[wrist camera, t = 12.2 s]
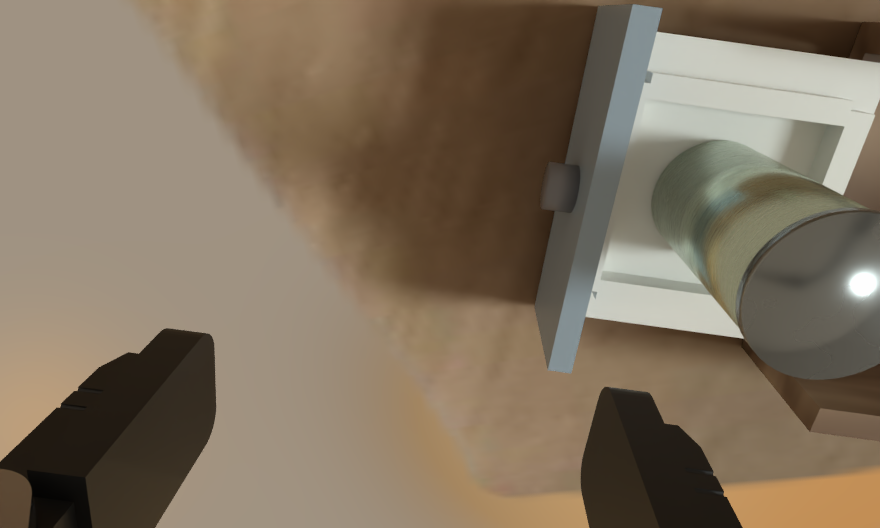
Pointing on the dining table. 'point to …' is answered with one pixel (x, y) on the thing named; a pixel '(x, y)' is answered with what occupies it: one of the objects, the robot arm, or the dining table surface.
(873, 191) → the wooden drawer box
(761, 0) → the dining table surface
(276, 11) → the dining table surface
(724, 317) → the grey drawer
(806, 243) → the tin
